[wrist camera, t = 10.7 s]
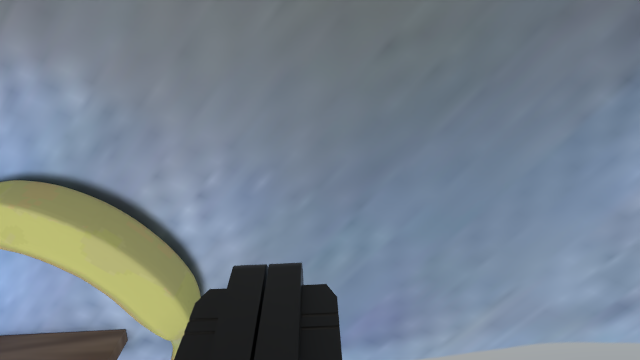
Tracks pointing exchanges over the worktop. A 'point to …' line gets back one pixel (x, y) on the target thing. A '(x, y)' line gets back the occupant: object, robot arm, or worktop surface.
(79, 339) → the box
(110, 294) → the banana
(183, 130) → the worktop surface
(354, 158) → the worktop surface
